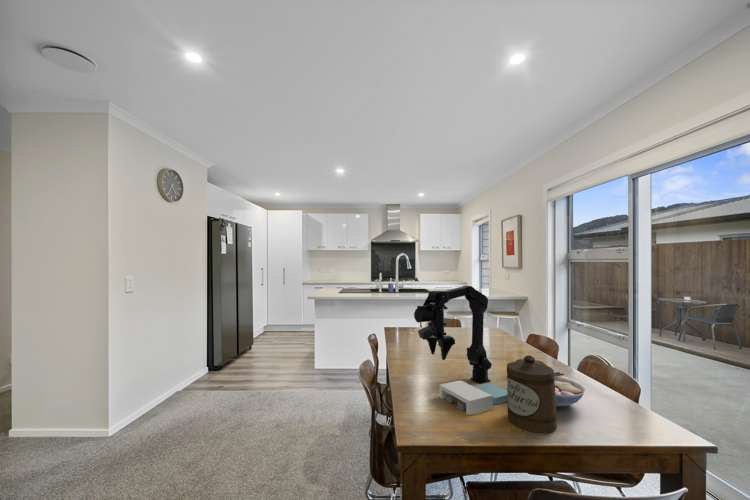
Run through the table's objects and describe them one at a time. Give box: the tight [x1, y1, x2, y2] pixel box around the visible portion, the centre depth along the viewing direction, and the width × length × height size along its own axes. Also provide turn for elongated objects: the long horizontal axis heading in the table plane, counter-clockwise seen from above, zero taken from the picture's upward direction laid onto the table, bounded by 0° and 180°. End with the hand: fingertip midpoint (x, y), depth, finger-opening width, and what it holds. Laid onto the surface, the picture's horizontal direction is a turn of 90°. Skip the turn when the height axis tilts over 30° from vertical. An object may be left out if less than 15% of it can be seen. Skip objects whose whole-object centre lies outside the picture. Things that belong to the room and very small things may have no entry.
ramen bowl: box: [554, 371, 587, 408], centre depth 120 cm, size 25×23×8 cm
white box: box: [438, 380, 494, 416], centre depth 119 cm, size 11×17×5 cm, turn 25°
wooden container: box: [506, 354, 558, 434], centre depth 105 cm, size 15×15×22 cm
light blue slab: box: [474, 382, 507, 405], centre depth 126 cm, size 10×12×2 cm
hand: (438, 357), depth 132 cm, fingers open, 9 cm apart
